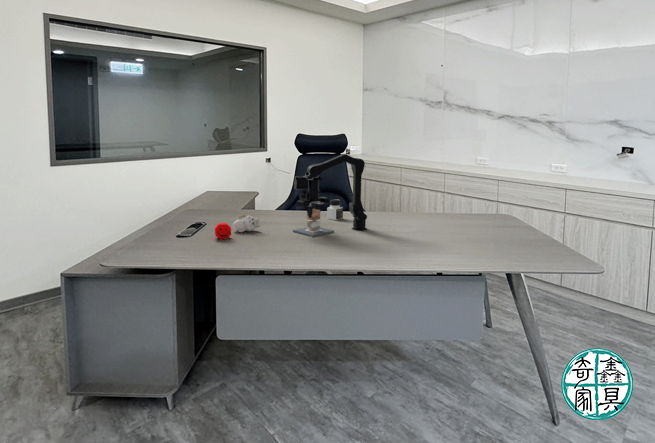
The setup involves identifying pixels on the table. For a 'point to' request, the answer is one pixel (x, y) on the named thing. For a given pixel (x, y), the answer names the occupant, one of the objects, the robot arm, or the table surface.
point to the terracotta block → (314, 215)
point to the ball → (222, 230)
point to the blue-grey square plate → (313, 233)
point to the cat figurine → (245, 223)
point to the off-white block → (313, 225)
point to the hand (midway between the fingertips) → (313, 217)
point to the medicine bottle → (335, 210)
